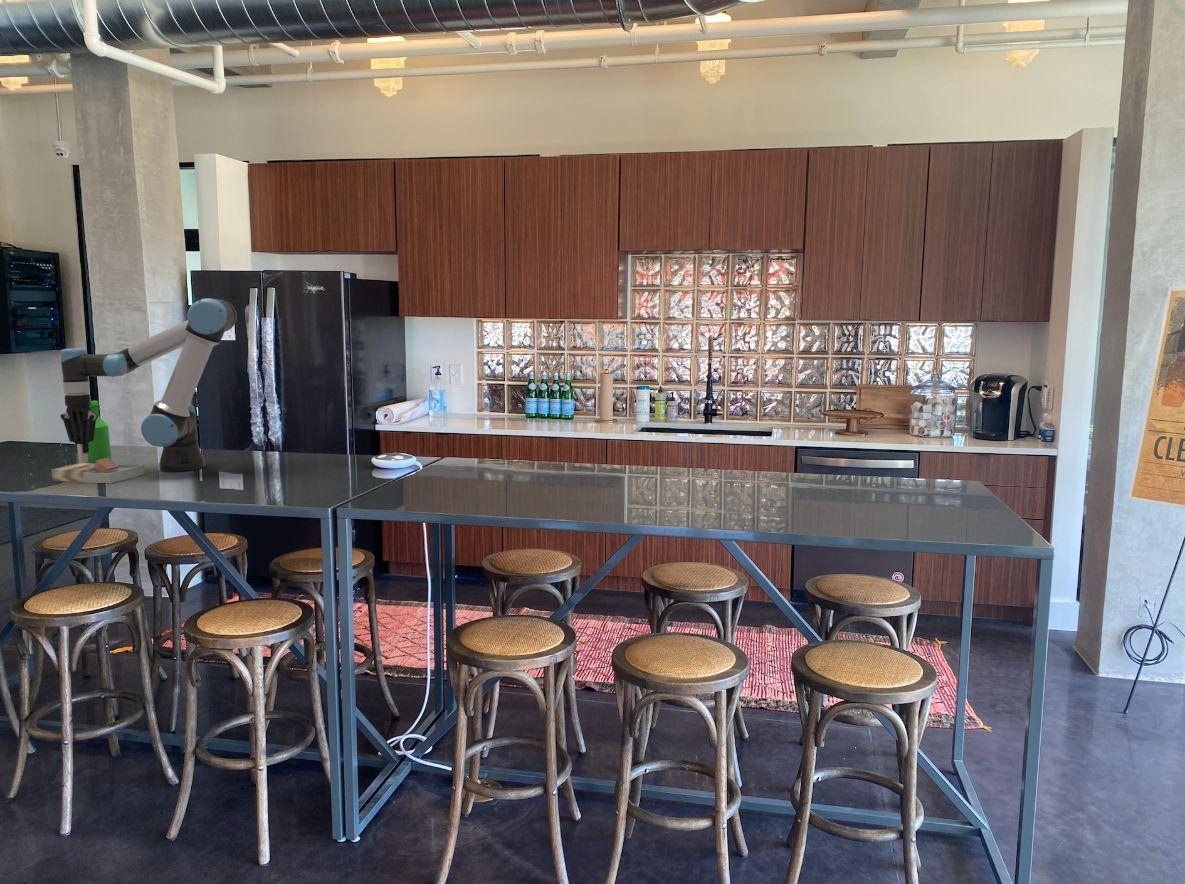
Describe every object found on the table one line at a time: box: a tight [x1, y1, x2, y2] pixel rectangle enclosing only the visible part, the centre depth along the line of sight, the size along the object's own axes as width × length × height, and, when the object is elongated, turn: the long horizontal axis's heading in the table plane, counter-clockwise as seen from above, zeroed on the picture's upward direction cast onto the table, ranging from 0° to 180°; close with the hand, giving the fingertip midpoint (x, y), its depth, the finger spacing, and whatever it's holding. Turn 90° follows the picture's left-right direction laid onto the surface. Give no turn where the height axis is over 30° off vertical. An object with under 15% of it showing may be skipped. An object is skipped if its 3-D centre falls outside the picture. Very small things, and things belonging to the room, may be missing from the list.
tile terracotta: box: [93, 458, 119, 473], centre depth 294 cm, size 5×5×3 cm
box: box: [83, 463, 146, 485], centre depth 294 cm, size 10×16×4 cm, turn 169°
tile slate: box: [108, 468, 128, 473], centre depth 294 cm, size 5×5×3 cm
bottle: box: [85, 400, 113, 464], centre depth 312 cm, size 9×9×25 cm
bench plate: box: [51, 462, 96, 483], centre depth 297 cm, size 14×12×4 cm
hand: (83, 462), depth 296 cm, fingers closed
